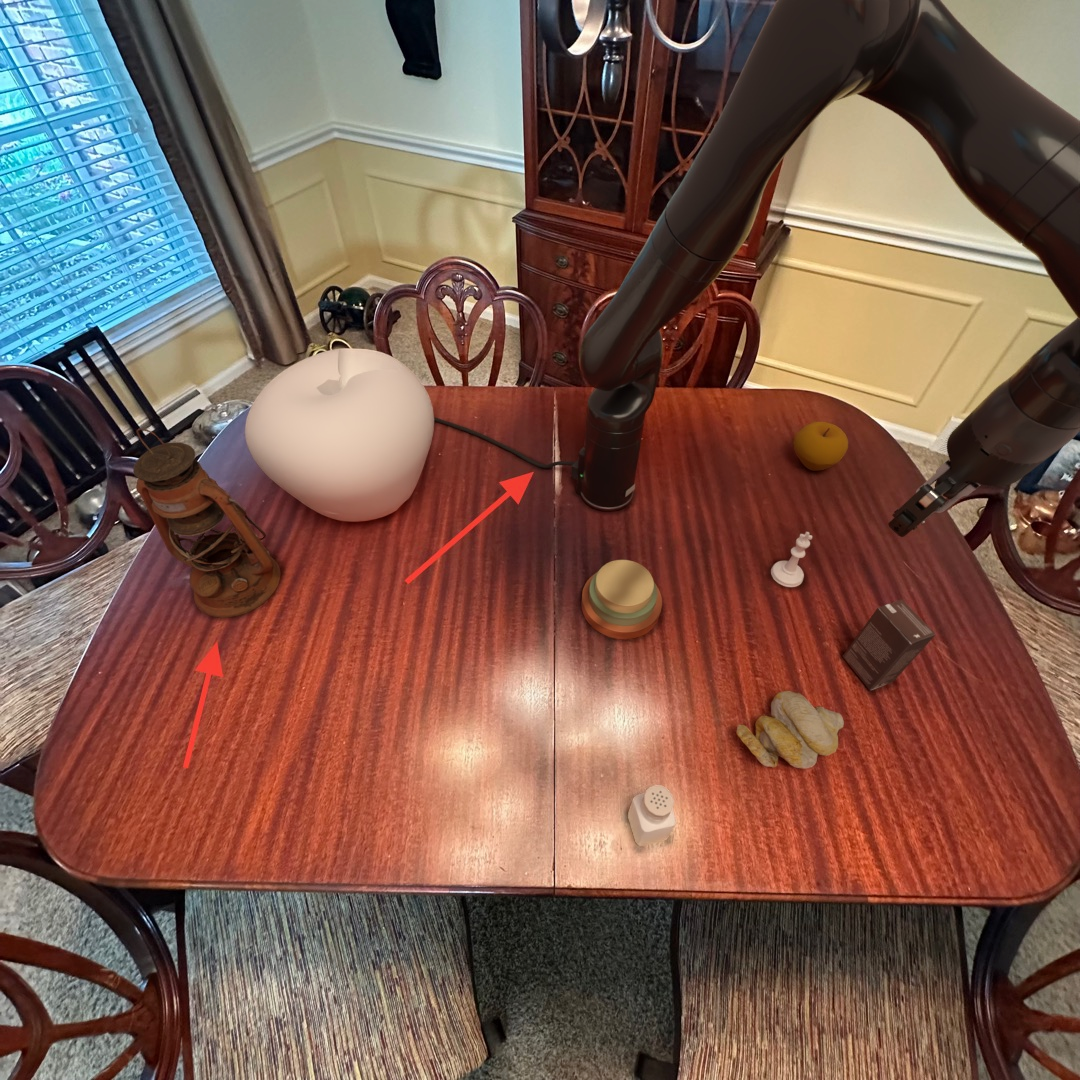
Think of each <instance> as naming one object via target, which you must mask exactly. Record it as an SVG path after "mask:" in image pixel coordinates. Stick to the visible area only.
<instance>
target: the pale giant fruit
mask: <svg viewBox="0 0 1080 1080" xmlns="http://www.w3.org/2000/svg"><path fill="white" fill-rule="evenodd" d="M434 417H435V416H434V407H433V403H432V401H431V397H430V396H429V393H428V391H427V388H425V385H424V384H423V383H422V381H421V380H420V378H419V377H418V376H417V375H416V373H414V372H413V371H412V369H410V368H409V367H408V366H407V365H406V364H404V363H403V362H402V361H400V360H399V359H397V358H395V357H394V356H391V355H390V354H387V353H384V352H382V351H378V350H373V349H367V348H355V347H354V348H351V347H350V348H349V347H348V348H346V347H341V348H335V349H329V350H325V351H322V352H319V353H316V354H314V355H310V356H308V357H306V358H304V359H301V360H299V361H298V362H295V363H294V364H292V365H290V366H289V367H287V368H285V369H284V370H282V371H281V372H280V373H279V374H277V375H276V376H275V377H273V379H271V380H270V381H269V382H268V383H267V384H266V385H265V386H264V387H263V388H262V390H261V391H259V394H258V395H257V396H256V397H255V400H254V401H253V403H252V405H251V406H250V409H249V411H248V413H247V416H246V419H245V426H244V427H245V428H244V437H245V443H246V446H247V449H248V451H249V453H250V456H251V457H252V459H253V460H254V462H255V463H256V465H257V466H258V467H259V468H260V470H261V471H262V472H263V473H264V474H265V475H266V476H267V477H268V478H269V479H270V480H272V482H274V483H275V484H276V485H277V486H278V487H279V488H281V489H282V490H284V491H285V492H286V493H288V494H289V495H290V496H292V497H293V498H295V499H296V500H298V501H299V502H301V503H302V504H303V505H305V506H306V507H308V508H309V509H311V510H312V511H314V512H316V513H317V514H319V515H321V516H324V517H326V518H329V519H332V520H337V521H340V522H351V523H353V522H354V523H355V522H366V521H367V522H368V521H373V520H377V519H381V518H383V517H386V516H389V515H390V514H393V513H394V512H396V511H398V509H399V508H401V506H402V505H403V504H404V503H406V501H408V500H409V499H410V498H411V496H412V495H413V493H414V491H415V489H416V487H417V485H418V482H419V480H420V478H421V475H422V472H423V470H424V467H425V464H426V460H427V458H428V454H429V451H430V448H431V445H432V442H433V437H434V430H435V421H434Z"/></svg>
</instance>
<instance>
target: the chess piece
mask: <svg viewBox="0 0 1080 1080" xmlns="http://www.w3.org/2000/svg"><path fill="white" fill-rule="evenodd" d="M812 539H813V535H810V531H805V533H799V536H798V537H797V538H796V540H795V546H793V547H792V548H791V549H790V554H791V557H790V558H789V559H788V560H779V561H777V562H775V563H774V564H773V565H772V567H771V569H770V574H771V577H772V579H773V580H774V581H775V583H777V584H779V585H781V586H783V587H786V588H796V587H799V586H800V585H801V584H802V583H803V581H804V578H805V574H804V570H803V569H802V568H801V567H800V565H798V564H799V560H800V559H803V558H804V557H805V556H806V549H808V548H809V547H810V546H811V541H810V540H812Z"/></svg>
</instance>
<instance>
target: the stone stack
mask: <svg viewBox="0 0 1080 1080" xmlns="http://www.w3.org/2000/svg"><path fill="white" fill-rule="evenodd" d="M844 723H845V722H844V717H843V715H842V714H841V713H840V712H835V711H833V710H830V709H826V708H825V707H823V706H816V707H815V706H813V705H812V703H810V701H809V700H808V699H807V698H806V697H805V696H804V695H803V694H801V693H800V692H794V691H791V690H784V691H783V690H782V691H779V692H777V693H776V694H775V695H774V697H773V699H772V701H771V703H770V716H768V715H761V716H759V717H758V718H757V719H756V722H755V725H754V726H755V735H754V734H753V732H752V730H750V728H749V727H748V726H746V725H744V724H738V725H737V727H736V735H737V737H738V738H739V739H740V741H741V742H742V743H743V744H744V745H745V746H746V747H747V748H748V750H749V751H750V753H751V754H752V755H754V756H755V758H756V759H757V761H758V762H759V763H760V764H761V765H762V766H763V767H767V768H776V767H777V766H778V763H779V757H780V758H782V759H784V761H785V762H787V763H788V764H789V765H790V766H792V767H794V768H795V769H804V770H805V769H809V768H812V767H814V766H815V765H816V763H817V762H818V760H817V759H818V755H820V756H825V757H829V756H830V755H833V754H834V753H836V751H837V750H838V747H839V736H838V733H839V730H841V729H843V728H844V725H845V724H844Z"/></svg>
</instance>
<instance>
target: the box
mask: <svg viewBox="0 0 1080 1080" xmlns="http://www.w3.org/2000/svg"><path fill="white" fill-rule="evenodd" d="M936 635H937V634H936V632H935V631H934V630H933V629H931V627H930V626H929V625H928V624H927V623H926V622H925V621H924V620H923V619H922V618H921V617H920V616H919V615H918V614H917V613H916V612H915V610H914V609H912V607H911V606H910V605H909V604H908V603H907V602H906V601H905V600H904V599H899V600H896V601H893V602H890V603H887V604H884V605H880V606H877V608H876V609H875V611H874V612H873V613H872V615H871V616H870V618H868V620H867V622H866V623H865V624H864V626H863V627H862V629H861V630H860V631H859V633H858V634H857V635H856V637H855V638H854V640H853V641H852V642H851V643H850V645H849V647H848V648H847V649H846V651H844V653H843V655H842V658H843V659H844V661H845V662H846V663H847V664H848V666H849V667H850V668H851V669H852V671H853V672H854V673H855V674H856V675H857V677H858V678H859V679H860V681H861V682H862V683H863V684H864V686H865V687H866V688H867V689H868V690H869V691H874V690H876V689H878V688H882V687H884V686H887V685H889V684H891V683H894V682H895V680H897V678H898V677H899V676H900V675H901V674H902V673H903V672H904V671H905V670H906V669H907V667H909V665H910V664H911V663H912V662H913V661H914V660H915V659H916V658H917V656H918V655H919V654H920V653H921V652H922V651H923V650H924V648H926V646H927V645H928V644H929V643H930V642H931V641H932V640H933V639H934V638H935V637H936Z"/></svg>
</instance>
